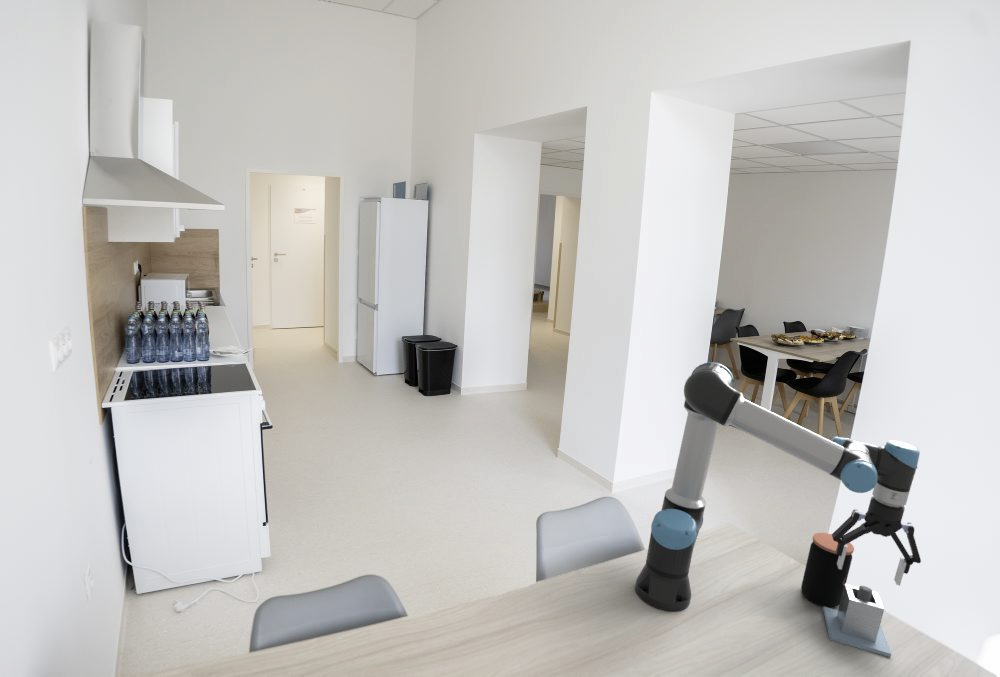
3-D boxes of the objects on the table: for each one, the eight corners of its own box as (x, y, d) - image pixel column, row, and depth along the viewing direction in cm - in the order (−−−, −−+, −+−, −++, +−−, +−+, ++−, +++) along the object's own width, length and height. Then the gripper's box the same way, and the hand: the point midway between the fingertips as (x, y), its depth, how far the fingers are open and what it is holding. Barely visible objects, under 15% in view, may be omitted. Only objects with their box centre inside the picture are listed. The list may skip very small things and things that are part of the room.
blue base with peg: (829, 639, 163) (840, 595, 161) (822, 609, 176) (832, 568, 173) (890, 657, 159) (902, 612, 156) (878, 625, 172) (889, 583, 169)
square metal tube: (841, 633, 165) (849, 599, 163) (836, 615, 172) (844, 583, 170) (875, 642, 162) (884, 608, 160) (869, 624, 170) (877, 592, 168)
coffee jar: (845, 613, 176) (860, 555, 172) (805, 604, 178) (818, 547, 174) (833, 591, 186) (847, 536, 182) (796, 583, 188) (808, 529, 184)
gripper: (836, 493, 160) (817, 567, 165) (949, 520, 152) (926, 597, 157) (832, 482, 167) (814, 553, 171) (940, 508, 159) (918, 581, 164)
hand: (867, 574), depth 164 cm, fingers open, 13 cm apart
